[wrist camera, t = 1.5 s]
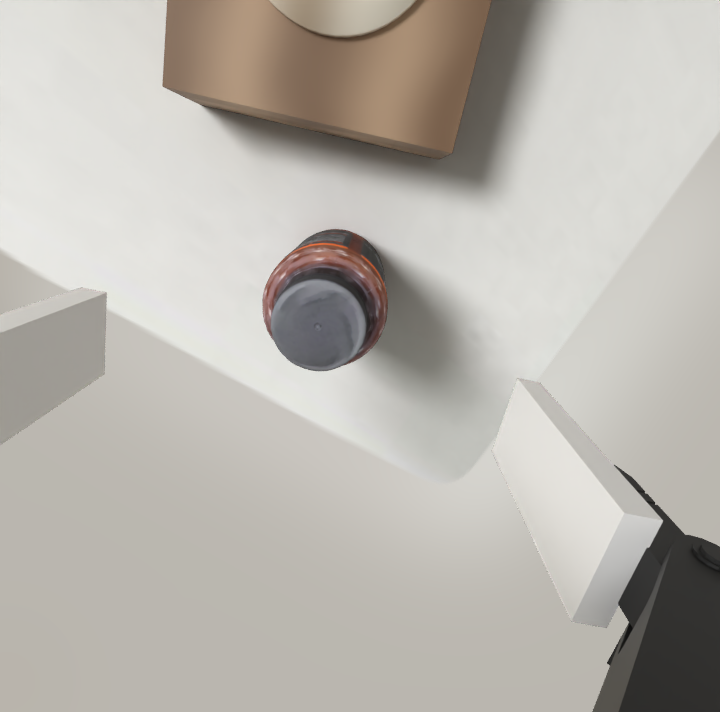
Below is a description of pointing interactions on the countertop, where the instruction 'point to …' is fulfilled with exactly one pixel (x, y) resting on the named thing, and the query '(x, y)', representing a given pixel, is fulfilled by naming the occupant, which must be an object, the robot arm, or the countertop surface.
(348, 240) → the supplement bottle
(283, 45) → the walnut stand
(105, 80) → the countertop surface
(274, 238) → the countertop surface
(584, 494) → the robot arm
